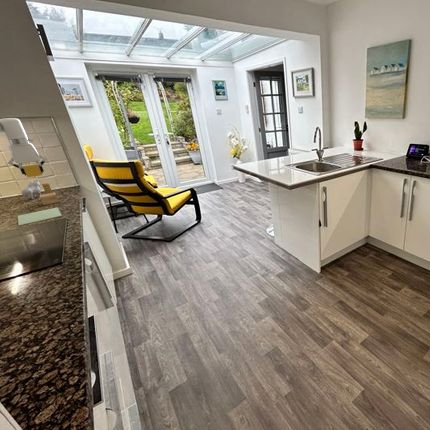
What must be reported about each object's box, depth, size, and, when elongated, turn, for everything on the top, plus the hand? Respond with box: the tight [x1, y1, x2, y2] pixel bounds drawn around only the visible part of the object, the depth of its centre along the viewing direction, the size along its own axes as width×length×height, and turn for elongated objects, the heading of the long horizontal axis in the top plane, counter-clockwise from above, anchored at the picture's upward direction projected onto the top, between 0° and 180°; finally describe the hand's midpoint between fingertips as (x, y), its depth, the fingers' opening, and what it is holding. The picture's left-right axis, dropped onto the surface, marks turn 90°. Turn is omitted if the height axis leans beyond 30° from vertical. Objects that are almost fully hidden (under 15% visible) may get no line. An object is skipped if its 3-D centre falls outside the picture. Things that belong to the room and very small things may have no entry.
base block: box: [38, 192, 60, 206], centre depth 162 cm, size 7×7×5 cm
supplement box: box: [40, 181, 54, 194], centre depth 171 cm, size 3×3×10 cm
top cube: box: [22, 163, 43, 178], centre depth 150 cm, size 6×6×6 cm
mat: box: [17, 207, 63, 227], centre depth 141 cm, size 20×16×1 cm
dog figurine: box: [21, 180, 42, 201], centre depth 173 cm, size 5×13×11 cm, turn 12°
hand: (33, 173), depth 151 cm, fingers closed on top cube, 6 cm apart
